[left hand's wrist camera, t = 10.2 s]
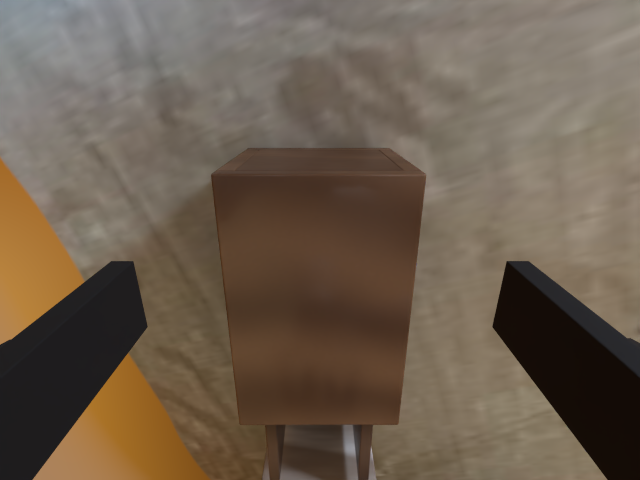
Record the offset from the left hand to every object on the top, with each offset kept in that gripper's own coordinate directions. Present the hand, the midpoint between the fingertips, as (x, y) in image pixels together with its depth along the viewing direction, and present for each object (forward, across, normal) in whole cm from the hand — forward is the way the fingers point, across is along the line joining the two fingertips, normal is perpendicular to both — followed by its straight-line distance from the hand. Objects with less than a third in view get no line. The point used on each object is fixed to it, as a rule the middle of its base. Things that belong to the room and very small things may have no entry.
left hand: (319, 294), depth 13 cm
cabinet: (+16, 0, -5) cm, 16 cm away
